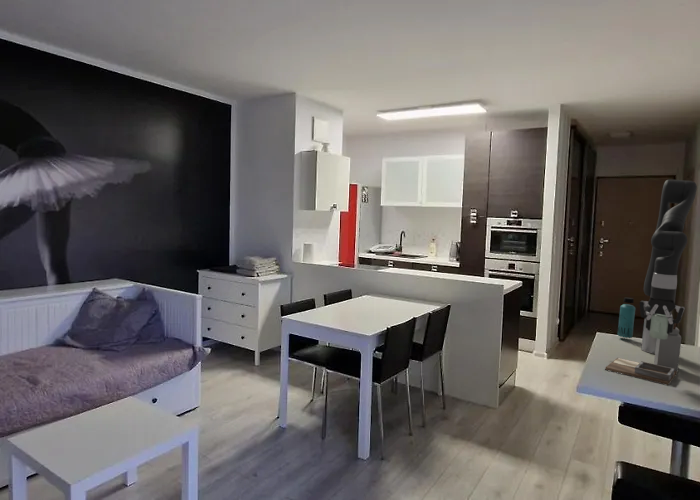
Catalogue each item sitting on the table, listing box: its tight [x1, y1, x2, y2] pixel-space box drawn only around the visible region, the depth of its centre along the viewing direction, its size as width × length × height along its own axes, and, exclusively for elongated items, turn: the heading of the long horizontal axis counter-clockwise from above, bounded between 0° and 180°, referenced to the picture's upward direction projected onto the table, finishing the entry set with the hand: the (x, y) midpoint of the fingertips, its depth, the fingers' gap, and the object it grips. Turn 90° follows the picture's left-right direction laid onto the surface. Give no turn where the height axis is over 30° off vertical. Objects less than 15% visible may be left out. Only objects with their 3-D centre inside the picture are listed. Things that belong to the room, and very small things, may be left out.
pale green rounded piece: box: [649, 314, 669, 339], centre depth 171 cm, size 6×8×8 cm
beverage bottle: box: [617, 297, 636, 339], centre depth 223 cm, size 6×7×20 cm
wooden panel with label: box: [605, 357, 678, 386], centre depth 178 cm, size 17×20×3 cm
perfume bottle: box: [653, 323, 682, 373], centre depth 184 cm, size 7×7×18 cm
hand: (658, 331), depth 172 cm, fingers closed on pale green rounded piece, 5 cm apart
